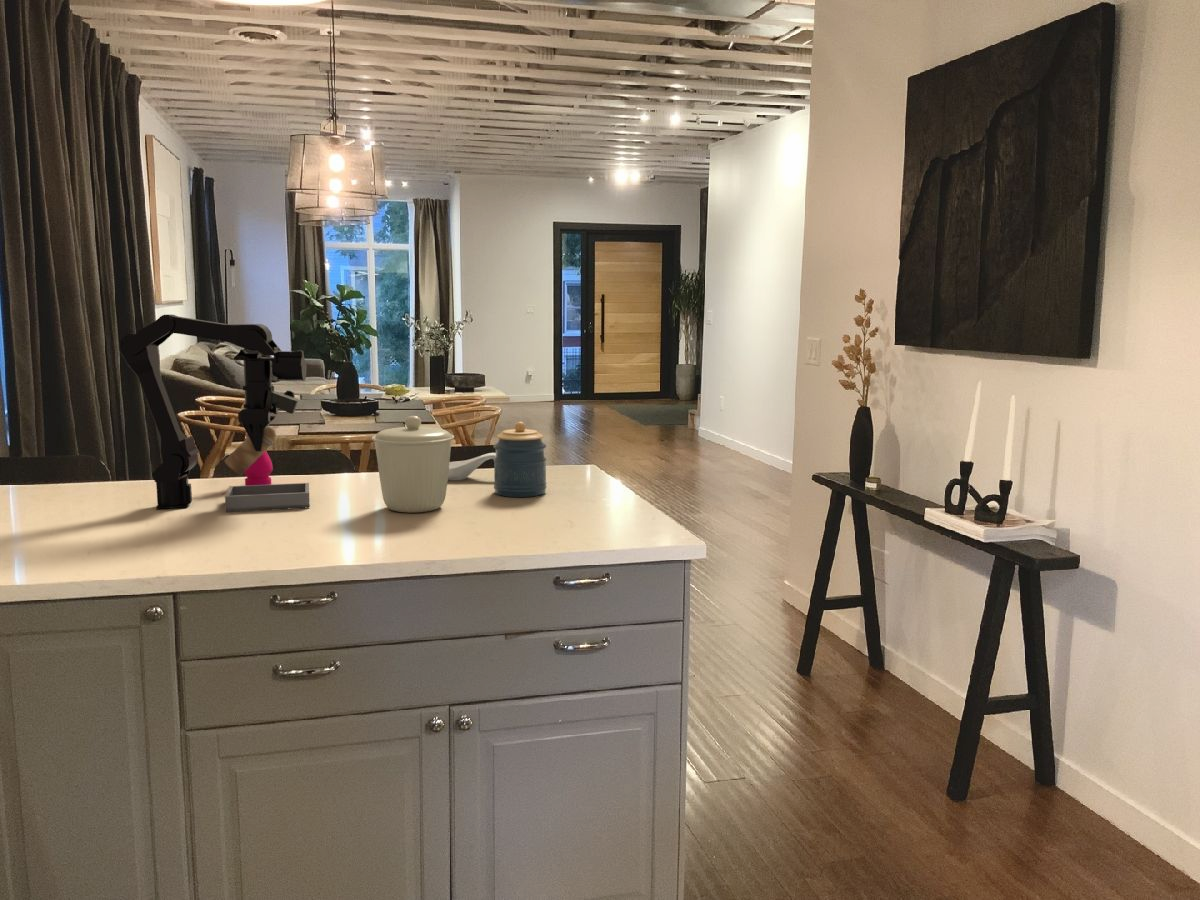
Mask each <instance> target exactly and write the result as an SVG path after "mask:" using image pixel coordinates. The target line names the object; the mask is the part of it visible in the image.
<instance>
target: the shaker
mask: <svg viewBox="0 0 1200 900" xmlns="http://www.w3.org/2000/svg"><path fill="white" fill-rule="evenodd" d="M276 435H277V434H276V430H275V429H274V428H273V427H271V426H270V425H269V426H266V427H265V429H264V436H263V443H262V449H261V451H256V450H255V448H254V446H253V444H252V442H251V440H250V438H249V437H248V438H245V440H244V441H243V442H241V444H240V445H238V446H237V447H236V448H235V449H234V451H232V452H231V453H230V454H229V455H228V457H226V458H225V459H224V460H223V461H224V463H225V465H226V466H227V467H228V468H229V469H230V470H232V472H233V473H235V474H237V475H239V476H242V475H243V474H244V472H245V471H246V470H247V469H248V468H249V467H250V466H251V465H252V464H253V463H254V462H255V461H256V460H257V459H258V458H259V457H260V456H261V455H262V454H263V453H264V452H265V451H268V450H269V448H270V447H272V446H273V444H274V441H275V439H276V437H277V436H276Z"/></svg>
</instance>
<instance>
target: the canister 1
mask: <svg viewBox="0 0 1200 900" xmlns="http://www.w3.org/2000/svg"><path fill="white" fill-rule="evenodd" d="M404 424H405V426H402V427H401V426H400V427H393V428H386V429H383V430H380V431H378V432H377V434H374V435H372V437H371V440H372V441H373V442H374V445H375V453H376V461H377V469H378V475H379V476H378V477H379V481H380V482H379V483H380V490H381V495H382V500H383V502H384V504H385V506H386V507H387V509H389V510H391V511H394V512H399V513H409V514H411V513H412V514H413V513H416V514H417V513H428V512H431V511H435V510H437V509H440V507H442V505H443V504H444V502H445V500H446V495H447V490H448V482H449V480H448V472H449V462H451V460H450V459H451V448H452V441H453V440H454V439H455V435H454V434H451V433H450V432H449V431H448V430H445V429H443V428H438V427H429V426H421V425H422V420H421V418H420V417H419V416H417V415H410V416H407V417H406V418H405V419H404Z"/></svg>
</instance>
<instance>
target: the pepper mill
mask: <svg viewBox="0 0 1200 900" xmlns="http://www.w3.org/2000/svg"><path fill="white" fill-rule="evenodd" d="M242 427H243V428H244V426H243V425H242ZM248 437H249V436H248V434H247V432H246V431H245V439H247V438H248ZM267 451H268V450H266V451H265V452H264V453H263V454H262V455H261V456H260V457H259V458H258V459H257V460H256V461H255V462H254V463H253V464H252V465H251V466H250V467H249V468H248V469H247V470H246V471H245V472H244V473H243V474H244V475H245V476H246V478H244V486H246V485H270V484H272V477H271V476H269V475H271V473H272V472H273V471H274V470H273V467H274V466H273V463H272V460H271V457H270V456H269V454H268V452H267Z"/></svg>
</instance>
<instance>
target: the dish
mask: <svg viewBox="0 0 1200 900" xmlns="http://www.w3.org/2000/svg"><path fill="white" fill-rule="evenodd" d="M224 499H225V500H224V503H225V513H235V512H237V513H238V512H239V513H240V511H242V512H254V511H253V510H261V511H273V510H272V509H281V510H289V509H288V508H301V509H306V508H305V507H310V503H309V502H310V482H299V483H297V482H296V483H273V484H272V483H271V484H270V485H246V486H245V485H230V486H228V489H227V491H226V493H225V495H224Z"/></svg>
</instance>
